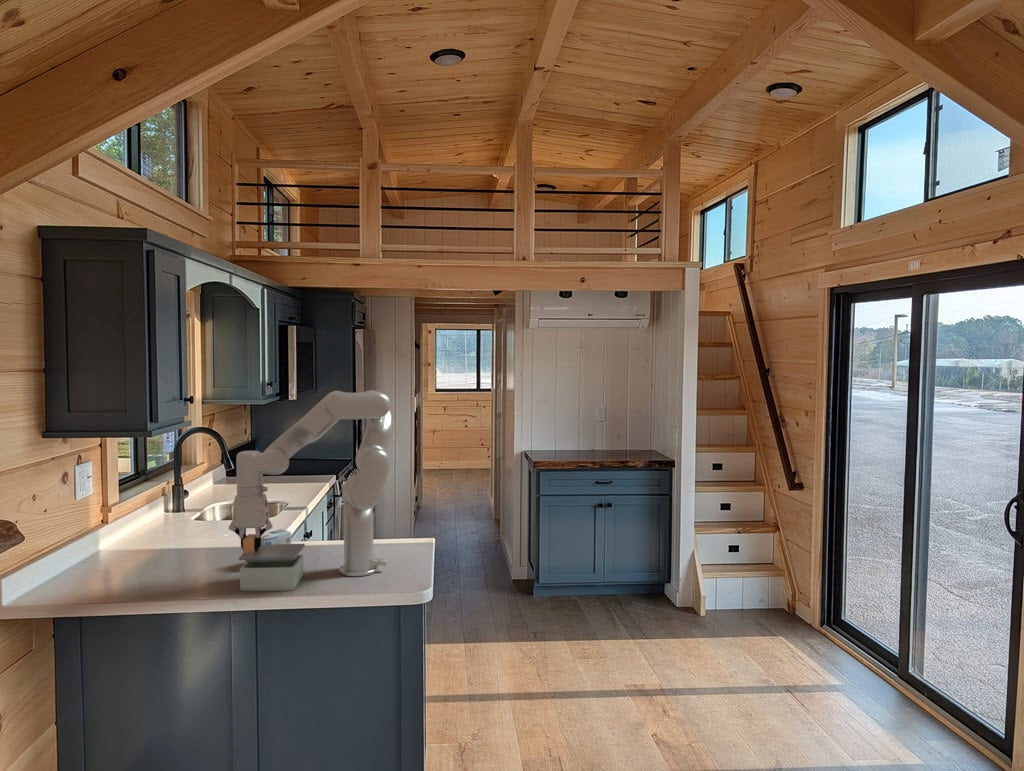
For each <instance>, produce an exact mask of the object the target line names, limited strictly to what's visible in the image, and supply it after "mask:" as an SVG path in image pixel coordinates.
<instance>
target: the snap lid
mask: <svg viewBox="0 0 1024 771" xmlns="http://www.w3.org/2000/svg"><path fill="white" fill-rule="evenodd" d="M255 538H256V533H249V534H246V537H245V538H244V539H243V548H242V551H243V552H242V554H241V555H240V556H239V557H238V561H245V563H246V562H265V561H292V559H295V558H296V557H297V556H298V555H300V553H301V552H302V551H303V550H304V548H305V544H306V543H291V544H270V545H261V547H260V548H259V549H258V550H257V551H255Z"/></svg>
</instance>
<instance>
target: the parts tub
mask: <svg viewBox="0 0 1024 771" xmlns="http://www.w3.org/2000/svg"><path fill="white" fill-rule="evenodd" d="M303 578H304V554H298V556H297V557H296V558H295V559H292V561H265V562H246V561H245V563H243V565H241V567H240V568H239V592H266V591H267V592H269V591H271V592H272V591H273V592H275V591H277V592H279V591H295V590H296V589H297V587H298V585H299V584H300V582H301V581H302V579H303Z"/></svg>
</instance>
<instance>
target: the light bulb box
mask: <svg viewBox="0 0 1024 771" xmlns="http://www.w3.org/2000/svg"><path fill="white" fill-rule="evenodd" d="M270 544H292V532H291V531H289V530H285V529H282V528H280V529H276V530H275V529H274V530H270V531H268V532H267V531H266V532H264V533H263V534H262V535H261V545H270Z"/></svg>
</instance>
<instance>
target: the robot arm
mask: <svg viewBox="0 0 1024 771" xmlns="http://www.w3.org/2000/svg"><path fill="white" fill-rule="evenodd" d="M391 406H392V403H391V400H390V398H389V397H388V395H387V394H385V393H383V392H381V391H378V390H372V389H371V390H366V391H363V392H344V391H340V390H333V391H331V392H329V393H328V394H327V395H326V396H325V397H323V398H322V399H321V400H320V401H319V402H318V403H317V404H316V405H314V407H312V408H311V409H310V410H309V411H308V412H307V413H306V414H305V415H304V416H302V417H301V418H300V419H299V420H298V421H297V422H295V423H294V424H293V425H291V427H289V428H288V429H287V430H286V431H285V432H283V433H282V434H280V436H279V437H277V438H276V439H275V440H274V441H272V443H271V444H270V445H268V447H266V449H265V450H263V452H261V451H259V450H243V451H240V452H238V453H237V454H236V457H235V458H236V462H235V464H236V465H235V466H236V495H235V496H234V500H233V505H232V507H233V508H232V515H231V516H232V519H231V522H230V524H229V525H228V530H229V531H232V532H234V533H235V534H236V535H237V536H238V537H239V539H240V548H242V549H243V539H244V538H245V537H246V536H247V529H254V530H255V534H256V538H255V551H257V550H258V549H259V548H260V547H261V535H262V534H263V533H266V532H267V531H268V532H269V530H270V531H271V530H272V529H273V524H272V521H271V520H270V514H269V513H270V512H269V504H268V498H267V494H266V493H265V492H268V490H269V489H268V488H269V487H267V486H264V483H263V475H270V476H271V475H273V476H275V475H277V476H278V475H282V474H283V473H285V472H286V471H287V470H288V468H289V466H290V458H292V457H293V456H294V455H295V454H296V453H297V452H298V451H300V450H301V449H302V448H304V447H305V446H307V445H310V444H312V443H315V442H316V441H318V440H320V438H322V437H323V436H324V435H325V434H326V433H327V432H328V431H329V430H330V429H331V428H333V426H335V425H336V424H337V423H338V422H339V421H340V420H366V427H365V431H364V433H363V434H364V435H363V437H362V440H361V443H360V445H359V448H358V451H357V452H356V456H355V466H356V467H357V468H358V470H357V472H356V474H354V475H352V476H350V477H348V478H347V479H346V481H344V484H343V486H342V506H343V564H342V565H340V567H339V568H338V569H339V570H338V571H339V573H340V574H341V575H343V576H347V577H362V576H363V577H364V576H369V575H372V574H374V573H375V574H376V573H377V572H378V570H379V566H381V567H386V566H387V565H388V559H385V558H377V557H376V554H375V553H374V507H375V506H376V505H377V503H378V502H379V500H380V498H381V495H382V492H383V489H384V486H385V484H386V481H387V479H388V476H389V472H390V468H391V460H390V456H389V454H388V452H387V450H388V449H387V448H388V445H389V443H390V440H391V436H392V433H393V426H394V422H393V414H392V411H391Z"/></svg>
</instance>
